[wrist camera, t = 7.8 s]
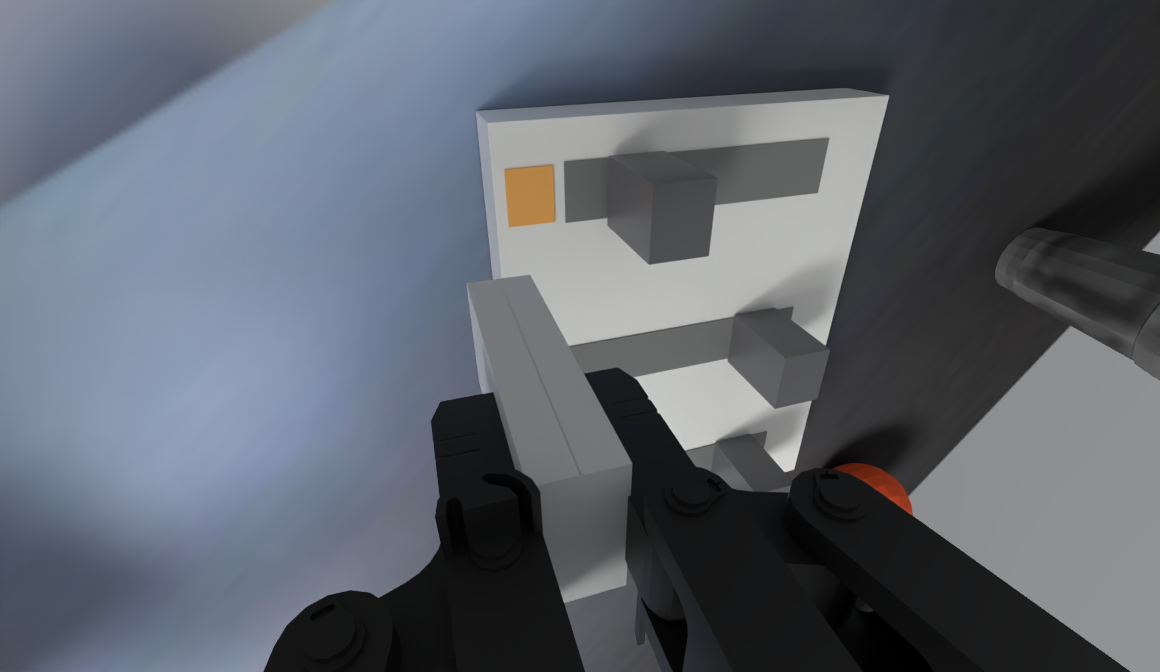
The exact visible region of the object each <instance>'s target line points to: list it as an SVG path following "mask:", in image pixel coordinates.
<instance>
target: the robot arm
mask: <svg viewBox="0 0 1160 672" xmlns="http://www.w3.org/2000/svg"><path fill="white" fill-rule="evenodd" d="M466 284H467V292H468V299H469V307H470V315H471V322H472V330H473V338H474V346H475V353H476V361H477V369H478V377H479V382H480V386H481V390H482V394H480V395H474V396H469V397H464V398H458V399H453V400H447V401H442V402H440V404H439V406H438V408H437V410H436V412H435V414H434V416H433V418H432V420H431V425H432V434H433V442H434V451H435V459H436V469H437V477H438V486H439V495H440V498H439V499H438V501H437V508H436V514H435V519H436V523H437V528H438V533H439V537H440V542H441V543H440V546H439V549H438V551H437V552H436V554H435V556H434V557H433V559H432V560H431V562H430V563H429V564H428V565H427V566H426V567H425V568H424V569H423V570H422V571H421V572H420V573H419V574H417V575H416V576H415V577H413V578H412V579H410V580H409V581H407V582H406V583H404V584H403V585H401V586H399V587H397V588H395V589H394V590H392V591H390V592H388V593H387V594H385V595H383V596H381V597H380V598H377V597H376V596H374V595H373V594H371V593H368V592H360V591H352V590H350V591H345V592H341V593H336V594H332V595H328V596H326V597H324V598H322V599H321V600H319V601H317V602H315V603H313V604H311V605H309V606H308V607H306V608H305V609H304V610H303V611H302V612H301V613H300V614H299V615H297V616H296V617H295V618H294V619H293V620H292V621H291V622H290V623H289V624H288V625H287V626H286V628H285V629H284V631H283V633H282V634H281V636H280V638H279V639H278V641H277V643H276V644H275V646H274V648H273V650H272V653H271V655H270V657H269V660H268V662H267V665H266V667H265V669H264V672H585V670H584V667H583V664H582V661H581V657H580V654H579V651H578V647H577V644H576V641H575V638H574V634H573V631H572V628H571V624H570V621H569V618H568V615H567V611H566V608H565V605H564V603H565V602H569V601H572V600H576V599H579V598H583V597H586V596H590V595H593V594H597V593H600V592H604V591H607V590H611V589H614V588H618V587H621V586H624V585H626V578H627V565H628V567H629V570H630V572H631V574H632V577H633V579H634V581H635V583H636V586H637V588H638V595H637V609H636V623H635V634H636V640H637V645H641V644H644V638H645V631H646V634H647V636H648V639H649V641H650V644H651V646H652V648H653V651H654V653H655V656H656V658H657V660H658V663H659V665H660V668H661V670H662V672H1130V671H1129V670H1127V669H1126V668H1125V667H1123V666H1122V665H1120V664H1119V663H1118V662H1116V661H1115V660H1113V659H1112V658H1111V657H1109V656H1108V655H1106V654H1105V653H1104V652H1102V651H1101V650H1099V649H1098V648H1096V647H1095V646H1094V645H1092V644H1091V643H1090V642H1088V641H1086V640H1085V639H1084V638H1083V637H1081V636H1080V635H1078V634H1077V633H1076V632H1074V631H1073V630H1071V629H1070V628H1069V627H1067V626H1066V625H1064V624H1063V623H1062V622H1060V621H1059V620H1057V619H1056V618H1055V617H1053V616H1052V615H1050V614H1049V613H1047V612H1046V611H1045V610H1043V609H1042V608H1041V607H1039V606H1038V605H1036V604H1035V603H1034V602H1032V601H1031V600H1030V599H1028V598H1027V597H1025V596H1024V595H1022V594H1021V593H1020V592H1018V591H1017V590H1016V589H1014V588H1013V587H1011V586H1010V585H1009V584H1007V583H1006V582H1004V581H1003V580H1002V579H1000V578H999V577H997V576H996V575H994V574H993V573H992V572H990V571H989V570H987V569H986V568H985V567H983V566H982V565H981V564H979V563H978V562H976V561H975V560H974V559H972V558H971V557H969V556H968V555H966V554H965V553H964V552H962V551H961V550H960V549H958V548H957V547H955V546H954V545H953V544H951V543H950V542H948V541H947V540H946V539H944V538H943V537H941V536H940V535H939V534H937V533H936V532H934V531H933V530H932V529H930V528H929V527H927V526H926V525H925V524H923V523H922V522H921V521H919V520H918V519H916V518H915V517H913V516H912V515H911V514H909V513H908V512H907V511H905V510H904V509H902V508H901V507H900V506H898V505H897V504H895V503H894V502H893V501H891V500H890V499H888V498H887V497H886V496H884V495H883V494H881V493H880V492H879V491H877V490H876V489H874V488H873V487H872V486H870V485H869V484H867V483H866V482H864V481H862V480H860V479H858V478H857V477H855V476H853V475H851V474H848V473H845V472H841V471H838V470H834V469H821V468H814V469H811V470H808V471H804V472H801V473H800V474H799V475H798V476H797V477H796V478H795V479H794V480H792V483H791V487H790V490H789V493H788V492H757V491H744V490H736V489H733V488H731V487H730V486H729V485H728V484H727V483H726V482H725V481H724V480H723V479H722V478H721V477H720V476H719V475H717V474H715V473H713V472H711V471H709V470H707V469H705V468H701V467H696V466H695V465H694V463H693V462H692V460H691V459H690V457H689V456H688V455H687V453H686V452H685V450H684V449H683V447H682V446H681V444H680V443H679V441H678V440H677V438H676V437H675V435H674V434H673V432H672V431H671V429H670V428H669V426H668V425H667V423H666V422H665V420H664V419H663V417H662V416H661V414H660V413H658V412H657V409H656V407H655V406H654V404H653V403H652V401H651V400H649V399H648V395H647V394H646V392H645V391H644V389H643V388H642V386H641V385H640V383H639V382H638V380H637V379H635V378H634V377H632V376H631V375H629V374H627V373H626V372H624V371H623V370H621V369H620V368H618V367H616V368H611V369H605V370H600V371H595V372H589V373H583V371H582V369H581V368H580V366H579V364H578V362H577V360H576V358H575V357H574V355H573V353H572V351H571V349H570V347H569V345H568V344H567V342H566V340H565V338H564V336H563V334H562V333H561V331H560V329H559V327H558V325H557V323H556V321H555V320H554V318H553V316H552V314H551V312H550V310H549V309H548V307H547V305H546V303H545V301H544V299H543V297H542V296H541V294H540V292H539V290H538V288H537V286H536V285H535V283H534V281H533V279H532V277H531V275H523V276H516V277H508V278H501V279H493V280H486V281H479V282H471V283H466Z"/></svg>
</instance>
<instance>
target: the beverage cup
mask: <svg viewBox="0 0 1160 672" xmlns="http://www.w3.org/2000/svg"><path fill="white" fill-rule="evenodd" d="M995 279H996V281H997V283H998V284H999V285H1001V286H1003V287H1005V288H1007V289H1009V290H1010V291H1012V292H1014V293H1015V294H1016V295H1017V296H1019V297H1020V298H1022V299H1024V300H1026V301H1028V302H1029V303H1031V304H1033V305H1035V306H1037V307H1038V308H1040V309H1042V310H1044V311H1046V312H1047V313H1049V314H1051V315H1053V316H1054V317H1056V318H1058V319H1060V320H1062V321H1063V322H1065V323H1067V324H1069V325H1071V326H1072V327H1074V328H1076V329H1078V330H1080V331H1082V332H1083V333H1085V334H1087V335H1089V336H1090V337H1092V338H1094V339H1096V340H1098V341H1099V342H1101V343H1103V344H1105V345H1106V346H1108V347H1110V348H1112V349H1114V350H1115V351H1117V352H1119V353H1121V354H1123V355H1125V356H1126V357H1128V358H1130V359H1132V360H1133V361H1134V362H1135V364H1136V365H1138V366H1139V367H1140V368H1142V369H1143V370H1145V371H1146V372H1148V373H1149V374H1150V375H1152V376H1153V377H1155V378H1157V379H1159V380H1160V255H1159V254H1154V253H1150V252H1146V251H1142V250H1138V249H1133V248H1129V247H1125V246H1121V245H1117V244H1113V243H1108V242H1104V241H1100V240H1096V239H1092V238H1087V237H1083V236H1079V235H1075V234H1071V233H1066V232H1057V231H1053V230H1047V229H1044V228H1038V227H1034V228H1031V229H1028V230H1026V231H1024V232H1023V233H1021V234H1019V235H1018V236H1017V237H1016V238H1015V239H1014V240H1012V241H1011V242H1010V243H1009V245H1008V246H1007V247H1006V249H1005V250H1004V251H1003V252H1002V254H1001V256H1000V258H999V260H998V262H997V266H996V269H995Z"/></svg>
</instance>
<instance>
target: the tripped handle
mask: <svg viewBox="0 0 1160 672" xmlns="http://www.w3.org/2000/svg"><path fill="white" fill-rule="evenodd" d="M717 182H718V178H717V177H715V176H713V175H711V174H709V173H707V172H705V171H703V170H701V169H699V168H697V167H695V166H693V165H691V164H689V163H687V162H685V161H683V160H681V159H679V158H677V157H675V156H673V155H671V154H669V153H667V152H665V151H656V152H644V153H633V154H622V155H610V156H608V218H607V226H608V227H609V228H610V229H611V230H613V231H614V232H615V233H616V234H617V235H618V236H619V237H620V238H621V239H622V240H623V241H624V242H625V243H626V244H627V245H628V246H629V247H631V248H632V249H633V250H634V251H635V252H636V253H637V254H638V255H639V256H640V257H641V258H642V259H643V260H644V261H645V262H646V263H647V264H649V265H651V264H658V263H665V262H672V261H679V260H686V259H693V258H700V257H707V256H709V251H710V242H711V233H712V225H713V216H714V208H715V199H716V190H717Z"/></svg>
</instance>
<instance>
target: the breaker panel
mask: <svg viewBox="0 0 1160 672" xmlns="http://www.w3.org/2000/svg"><path fill="white" fill-rule="evenodd" d="M888 99H889V95H884V94H878V93H872V92H867V91H861V90H855V89H849V88H834V89H818V90H802V91H786V92H770V93H754V94H738V95H722V96H706V97H690V98H674V99H658V100H642V101H626V102H610V103H594V104H578V105H562V106H546V107H530V108H514V109H498V110H482V111H476V120H477V130H478V140H479V150H480V159H481V169H482V179H483V189H484V199H485V208H486V218H487V228H488V238H489V247H490V257H491V267H492V277H493V279H501V278H508V277H516V276H523V275H531V277H532V279H533V281H534V283H535V285H536V286H537V288H538V290H539V292H540V294H541V296H542V297H543V299H544V301H545V303H546V305H547V307H548V309H549V310H550V312H551V314H552V316H553V318H554V320H555V321H556V323H557V325H558V327H559V329H560V331H561V333H562V334H563V336H564V338H565V340H566V342H567V344H568V345H569V347H570V349H571V351H572V353H573V355H574V357H575V358H576V360H577V362H578V364H579V366H580V368H581V369H582V371H583V373H589V372H595V371H600V370H605V369H611V368H616V367H618V368H620V369H621V370H623V371H624V372H626V373H627V374H629V375H631V376H632V377H634V378H635V379H637V380H638V382H639V383H640V385H641V386H642V388H643V389H644V391H645V392H646V394H647V395H648V399H649V400H651V401H652V403H653V404H654V406H655V407H656V409H657V412H658V413H660V414H661V416H662V417H663V419H664V420H665V422H666V423H667V425H668V426H669V428H670V429H671V431H672V432H673V434H674V435H675V437H676V438H677V440H678V441H679V443H680V444H681V446H682V447H683V449H684V450H685V452H686V453H687V455H688V456H689V457H690V459H691V460H692V462H693V463H694V465H695V466H696V467H701V468H705V469H707V470H709V471H711V472H713V473H715V474H717V475H719V476H720V477H721V478H722V479H723V480H724V481H725V482H726V483H727V484H728V485H729V486H730V487H731V488H733V489H736V490H744V491H757V492H788V493H789V490H790V487H791V483H792V480H791V479H790V478H789V477H788V476H787V474H786V473H785V472H787V471H791V470H794V468H795V464H796V460H797V456H798V452H799V448H800V444H801V440H802V436H803V432H804V428H805V425H806V421H807V417H808V413H809V409H810V405H811V401H812V400H816V399H817V398H818V395H819V391H820V387H821V383H822V379H823V375H824V372H825V368H826V364H827V360H828V356H829V353H830V349H829V348H828V347H827V346H826V342H827V338H828V334H829V331H830V327H831V323H832V319H833V315H834V311H835V307H836V303H837V299H838V295H839V291H840V287H841V284H842V280H843V276H844V272H845V268H846V264H847V260H848V256H849V252H850V248H851V244H852V240H853V236H854V233H855V229H856V225H857V221H858V217H859V213H860V209H861V205H862V201H863V197H864V193H865V189H866V186H867V182H868V178H869V174H870V170H871V166H872V162H873V158H874V154H875V150H876V146H877V142H878V139H879V135H880V131H881V127H882V123H883V119H884V115H885V111H886V107H887V103H888ZM656 151H665V152H667V153H669V154H671V155H673V156H675V157H677V158H679V159H681V160H683V161H685V162H687V163H689V164H691V165H693V166H695V167H697V168H699V169H701V170H703V171H705V172H707V173H709V174H711V175H713V176H715V177H717V178H718V182H717V190H716V199H715V208H714V216H713V225H712V233H711V242H710V251H709V256H707V257H700V258H693V259H686V260H679V261H672V262H665V263H658V264H651V265H649V264H647V263H646V262H645V261H644V260H643V259H642V258H641V257H640V256H639V255H638V254H637V253H636V252H635V251H634V250H633V249H632V248H631V247H629V246H628V245H627V244H626V243H625V242H624V241H623V240H622V239H621V238H620V237H619V236H618V235H617V234H616V233H615V232H614V231H613V230H611V229H610V228H609V227H608V226H607V218H608V156H610V155H622V154H633V153H644V152H656Z"/></svg>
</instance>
